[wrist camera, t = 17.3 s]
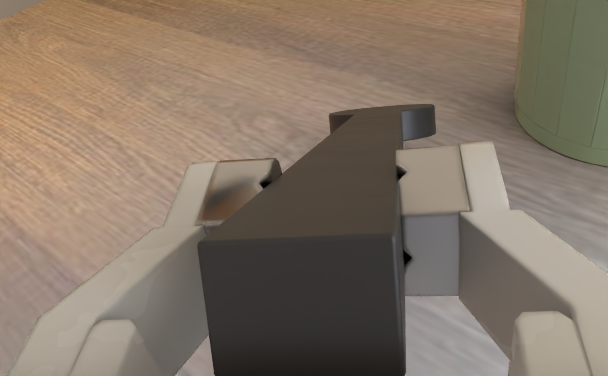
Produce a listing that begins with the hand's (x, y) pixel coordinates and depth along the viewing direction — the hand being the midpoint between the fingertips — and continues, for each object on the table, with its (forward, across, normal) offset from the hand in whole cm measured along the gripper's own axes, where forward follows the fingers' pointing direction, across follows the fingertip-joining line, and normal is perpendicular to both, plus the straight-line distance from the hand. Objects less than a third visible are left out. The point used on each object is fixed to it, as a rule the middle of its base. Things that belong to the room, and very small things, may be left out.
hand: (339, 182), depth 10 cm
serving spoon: (+7, 0, +5) cm, 9 cm away
